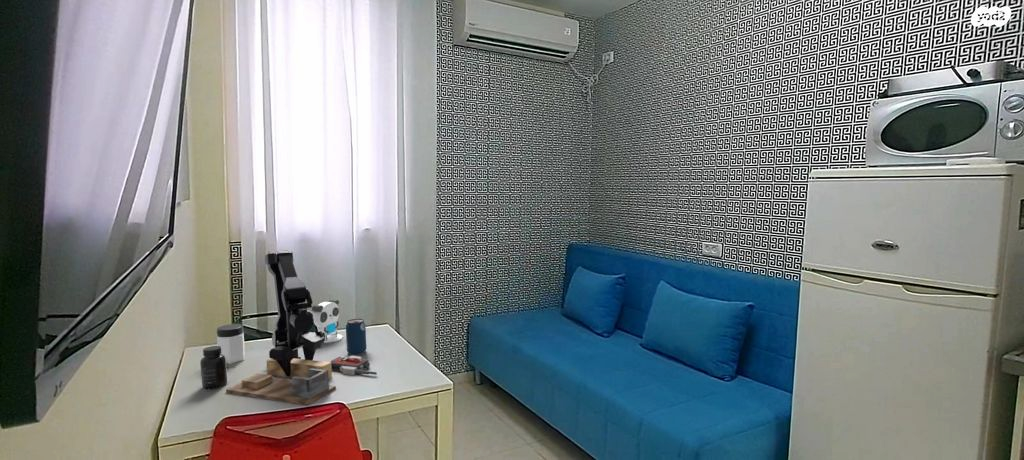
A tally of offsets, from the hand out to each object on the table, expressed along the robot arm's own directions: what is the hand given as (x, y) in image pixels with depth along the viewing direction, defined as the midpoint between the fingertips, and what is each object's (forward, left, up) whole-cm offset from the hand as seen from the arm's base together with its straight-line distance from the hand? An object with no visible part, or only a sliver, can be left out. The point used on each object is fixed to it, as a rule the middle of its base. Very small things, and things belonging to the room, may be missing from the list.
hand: (299, 371), depth 167 cm
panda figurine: (-18, +36, -2) cm, 40 cm away
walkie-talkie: (+15, +10, -2) cm, 18 cm away
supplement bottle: (-19, -15, -1) cm, 24 cm away
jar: (-34, +5, -1) cm, 34 cm away
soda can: (+4, +25, -1) cm, 25 cm away
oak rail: (0, 0, -2) cm, 2 cm away
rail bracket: (+4, -12, -1) cm, 13 cm away
